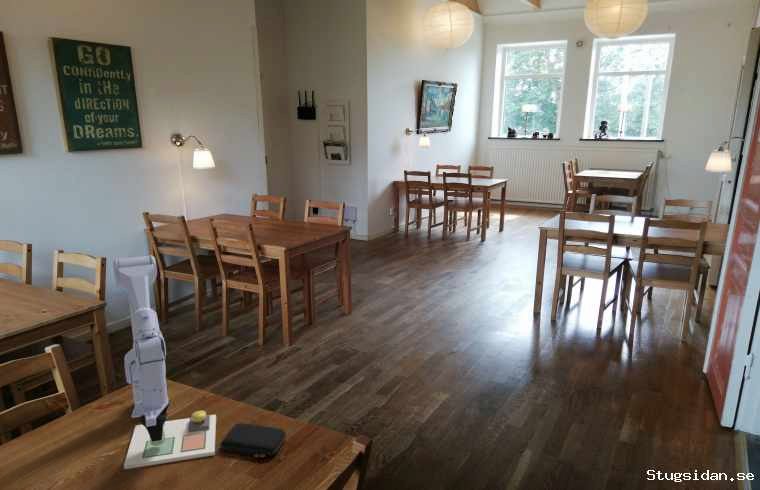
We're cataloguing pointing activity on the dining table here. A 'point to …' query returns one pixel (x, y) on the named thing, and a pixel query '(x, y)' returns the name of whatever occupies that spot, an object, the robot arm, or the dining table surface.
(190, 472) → the dining table surface
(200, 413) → the button
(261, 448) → the carrying case or bag
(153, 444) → the green bulb-shaped piece
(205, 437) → the colouring board
